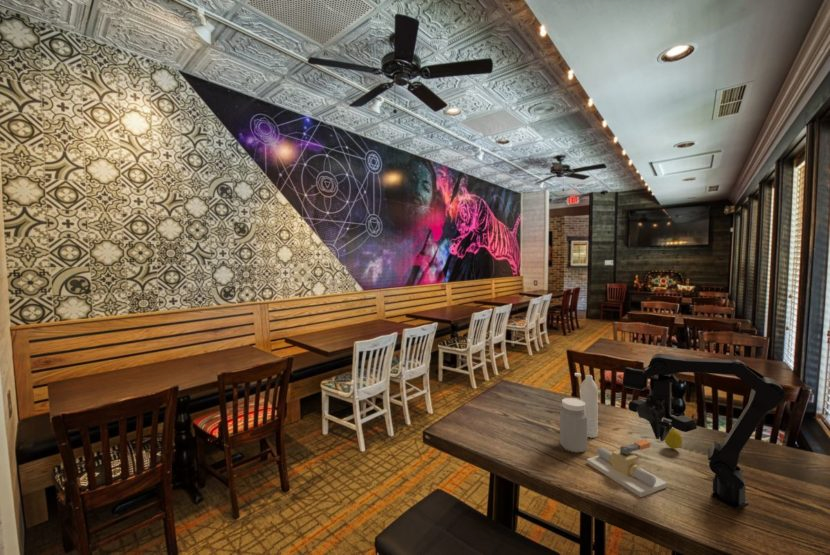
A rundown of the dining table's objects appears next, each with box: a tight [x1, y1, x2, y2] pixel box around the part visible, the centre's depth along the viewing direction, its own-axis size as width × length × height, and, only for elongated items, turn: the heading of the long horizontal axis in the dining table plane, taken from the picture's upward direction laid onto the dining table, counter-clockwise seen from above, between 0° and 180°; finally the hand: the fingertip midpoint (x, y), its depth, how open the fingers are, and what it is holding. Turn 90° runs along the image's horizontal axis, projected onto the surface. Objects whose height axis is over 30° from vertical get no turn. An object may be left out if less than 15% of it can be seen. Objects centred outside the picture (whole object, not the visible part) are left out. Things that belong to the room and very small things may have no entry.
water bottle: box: [574, 372, 599, 439], centre depth 147 cm, size 9×6×25 cm
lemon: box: [664, 427, 683, 450], centre depth 134 cm, size 6×6×8 cm
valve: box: [586, 446, 668, 498], centre depth 119 cm, size 20×12×7 cm, turn 22°
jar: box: [559, 397, 588, 454], centre depth 136 cm, size 10×10×18 cm
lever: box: [619, 439, 651, 456], centre depth 120 cm, size 12×3×2 cm, turn 112°
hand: (659, 439), depth 116 cm, fingers closed
